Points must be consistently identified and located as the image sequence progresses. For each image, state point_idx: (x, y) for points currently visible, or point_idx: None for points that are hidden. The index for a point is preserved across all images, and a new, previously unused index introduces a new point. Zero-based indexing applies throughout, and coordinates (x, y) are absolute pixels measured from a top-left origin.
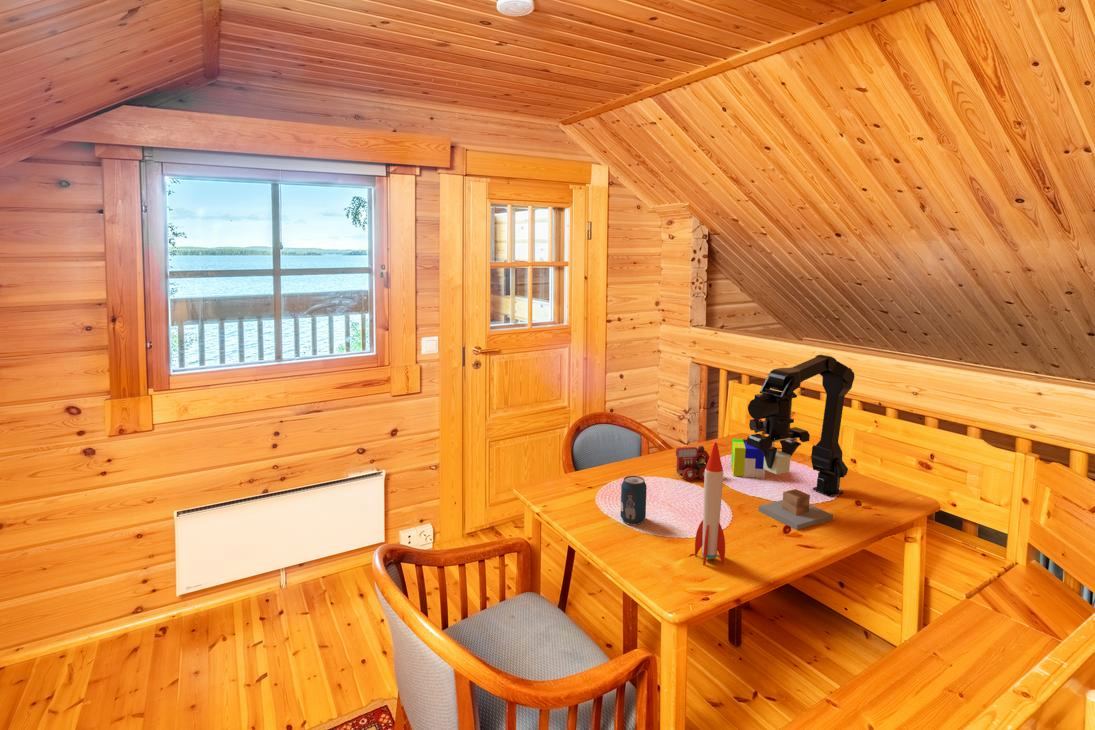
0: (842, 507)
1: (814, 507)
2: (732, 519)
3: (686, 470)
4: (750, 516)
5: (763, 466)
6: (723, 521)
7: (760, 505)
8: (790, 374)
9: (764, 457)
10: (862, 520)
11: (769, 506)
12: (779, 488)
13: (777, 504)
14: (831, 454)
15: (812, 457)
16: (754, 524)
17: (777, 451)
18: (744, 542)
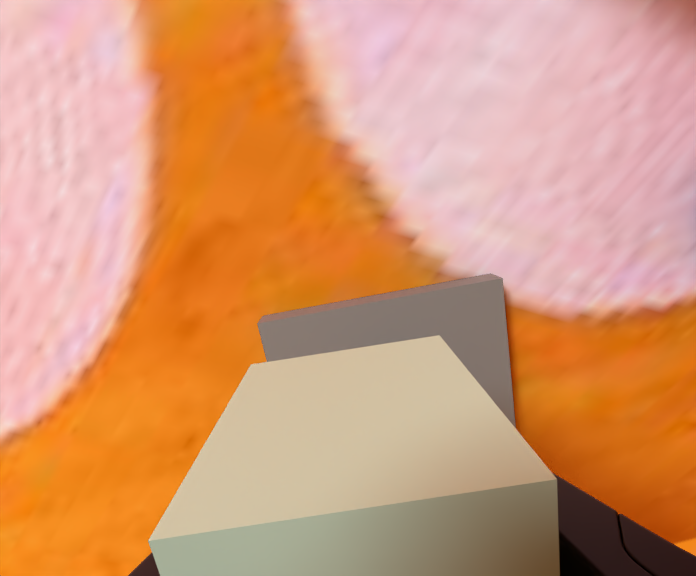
0: (649, 383)
1: (504, 407)
2: (95, 364)
3: None
4: (193, 358)
5: (245, 377)
6: (44, 371)
7: (268, 323)
8: None
9: (201, 465)
10: (612, 498)
11: (306, 343)
12: (556, 85)
13: (360, 333)
14: None
15: None
16: (169, 428)
17: (474, 567)
18: (54, 540)
